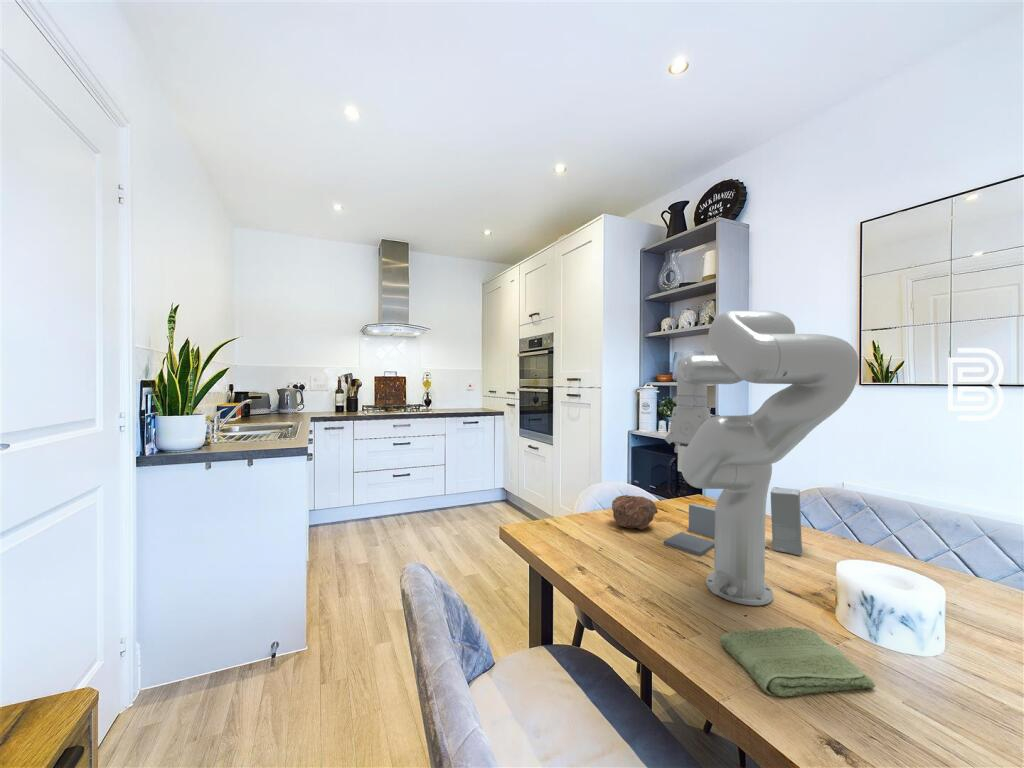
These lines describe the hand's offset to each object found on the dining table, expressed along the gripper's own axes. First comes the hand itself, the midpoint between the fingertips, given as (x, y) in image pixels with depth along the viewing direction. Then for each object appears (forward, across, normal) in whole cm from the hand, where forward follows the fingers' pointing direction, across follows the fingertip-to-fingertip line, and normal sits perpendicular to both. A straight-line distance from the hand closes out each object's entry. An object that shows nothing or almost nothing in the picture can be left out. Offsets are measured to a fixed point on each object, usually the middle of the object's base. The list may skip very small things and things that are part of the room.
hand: (690, 467), depth 112 cm
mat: (+21, 0, 0) cm, 21 cm away
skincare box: (+22, +18, +18) cm, 33 cm away
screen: (+21, +1, +11) cm, 24 cm away
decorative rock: (+22, -18, +1) cm, 28 cm away
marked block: (+1, 0, 0) cm, 1 cm away
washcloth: (+22, +32, -34) cm, 52 cm away
